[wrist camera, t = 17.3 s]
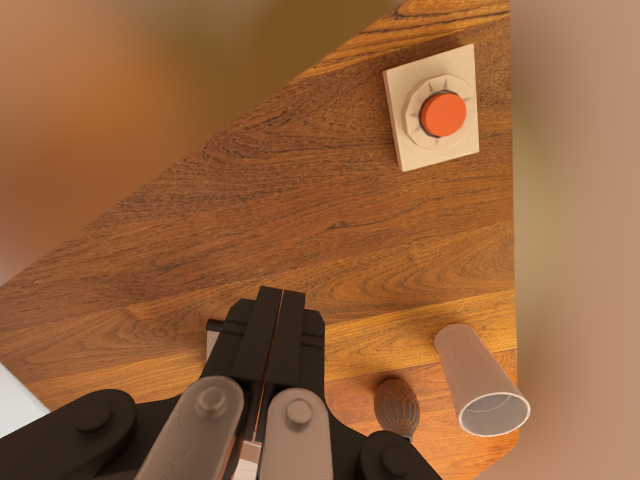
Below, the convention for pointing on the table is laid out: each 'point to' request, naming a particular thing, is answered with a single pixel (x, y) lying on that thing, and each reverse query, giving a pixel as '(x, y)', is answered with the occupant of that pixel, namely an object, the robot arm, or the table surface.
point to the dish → (248, 460)
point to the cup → (479, 384)
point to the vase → (397, 408)
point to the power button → (443, 114)
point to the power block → (415, 90)
